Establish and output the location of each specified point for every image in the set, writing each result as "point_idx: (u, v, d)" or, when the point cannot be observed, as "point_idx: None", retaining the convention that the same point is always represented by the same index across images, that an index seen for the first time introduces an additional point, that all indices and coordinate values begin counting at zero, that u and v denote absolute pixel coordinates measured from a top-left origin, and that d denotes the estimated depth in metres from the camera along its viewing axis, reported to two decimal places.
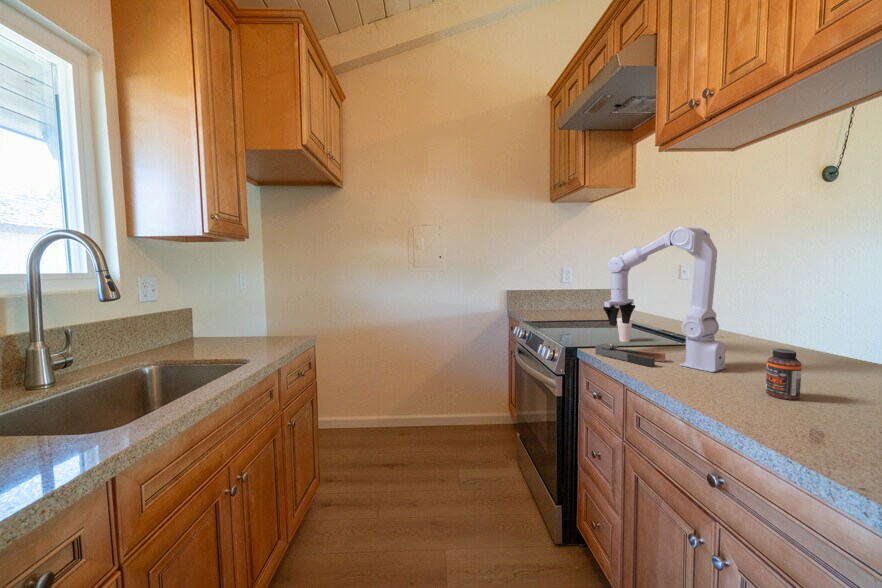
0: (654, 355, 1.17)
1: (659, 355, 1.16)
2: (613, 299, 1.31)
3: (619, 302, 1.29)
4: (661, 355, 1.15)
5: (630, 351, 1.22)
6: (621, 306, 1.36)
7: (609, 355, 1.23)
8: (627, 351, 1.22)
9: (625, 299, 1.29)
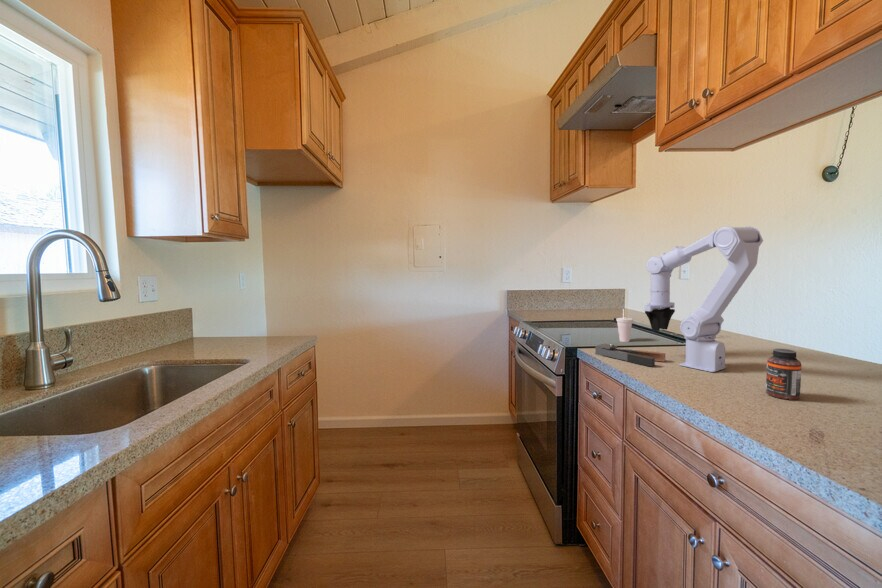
0: (654, 355, 1.17)
1: (659, 355, 1.16)
2: (653, 302, 1.21)
3: (661, 306, 1.18)
4: (661, 355, 1.15)
5: (630, 351, 1.22)
6: (658, 310, 1.24)
7: (609, 355, 1.23)
8: (627, 351, 1.22)
9: (667, 302, 1.19)
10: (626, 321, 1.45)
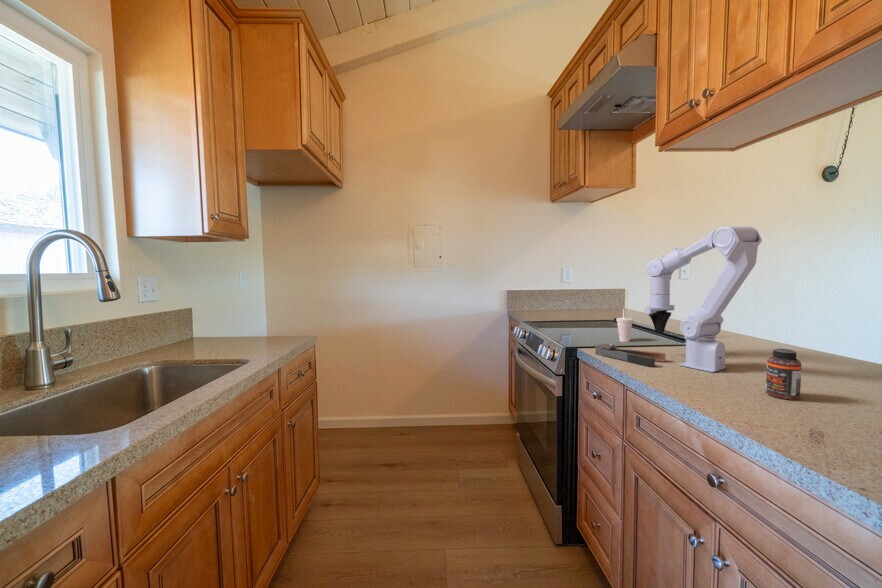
0: (654, 355, 1.17)
1: (659, 355, 1.16)
2: (653, 305, 1.21)
3: (661, 308, 1.19)
4: (661, 355, 1.15)
5: (630, 351, 1.22)
6: None
7: (609, 355, 1.23)
8: (627, 351, 1.22)
9: (667, 305, 1.19)
10: (626, 321, 1.45)
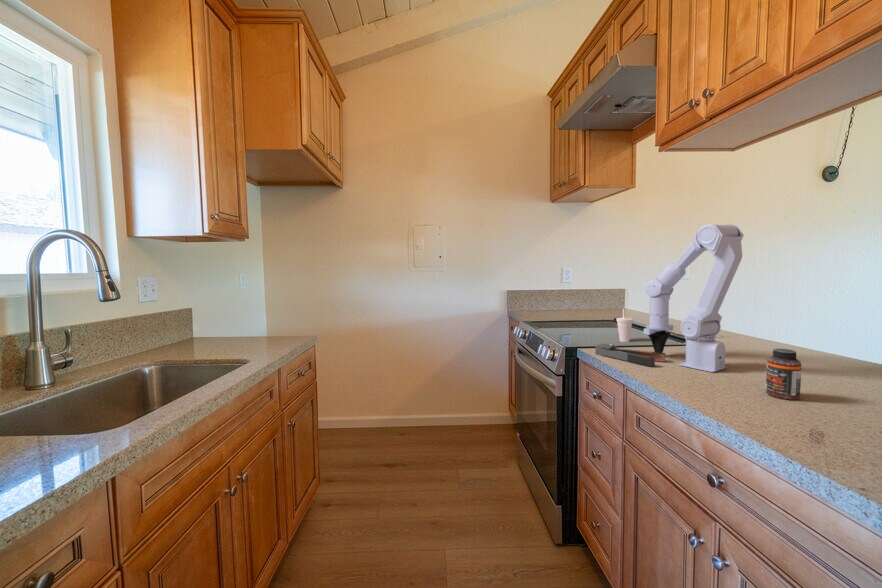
0: (654, 355, 1.17)
1: (659, 355, 1.16)
2: (652, 325, 1.21)
3: (660, 329, 1.19)
4: (661, 355, 1.15)
5: (630, 351, 1.22)
6: None
7: (609, 355, 1.23)
8: (627, 351, 1.22)
9: (666, 326, 1.19)
10: (626, 321, 1.45)
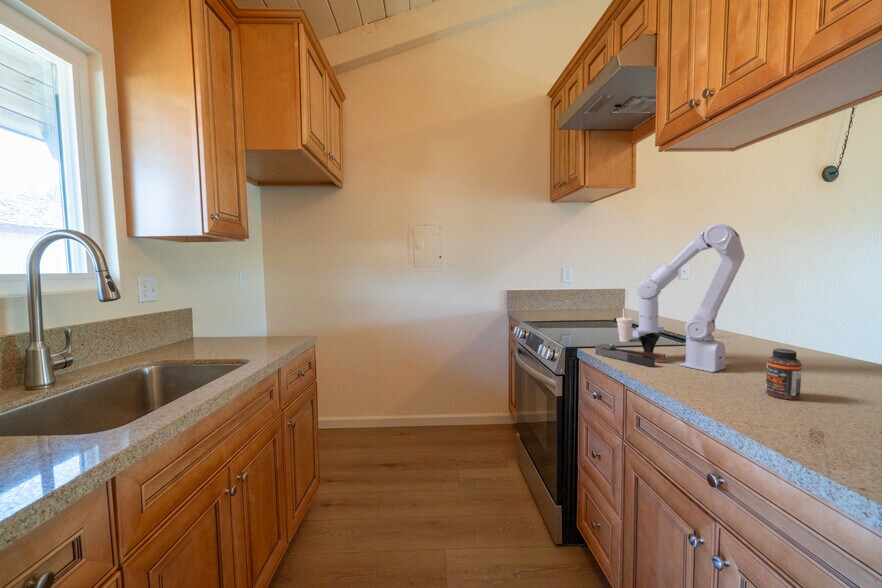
0: (653, 356, 1.16)
1: (658, 356, 1.15)
2: (642, 327, 1.18)
3: (649, 331, 1.16)
4: (660, 356, 1.15)
5: (629, 351, 1.21)
6: None
7: (609, 355, 1.23)
8: (627, 351, 1.22)
9: (655, 328, 1.16)
10: (626, 321, 1.45)
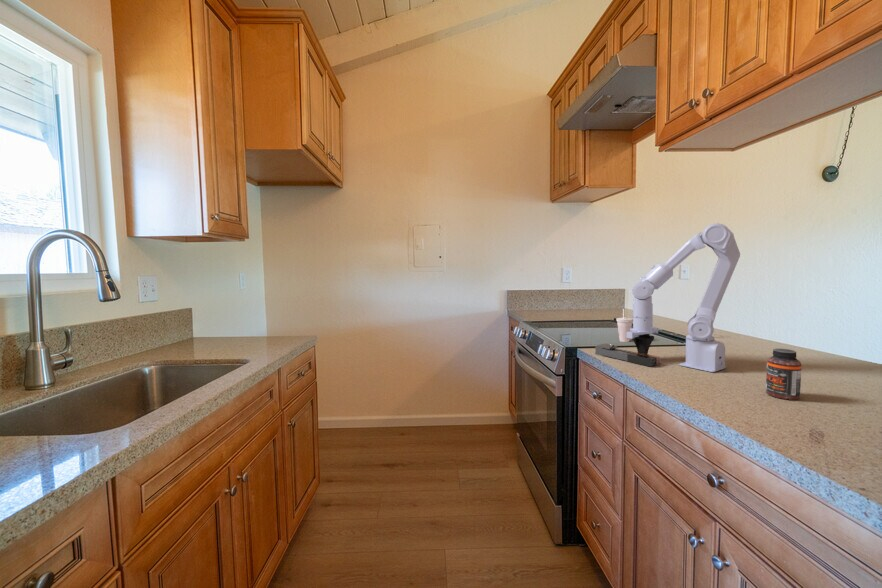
0: None
1: None
2: (636, 329, 1.17)
3: (643, 332, 1.14)
4: None
5: (627, 352, 1.20)
6: None
7: (609, 355, 1.23)
8: None
9: (650, 329, 1.15)
10: (626, 321, 1.45)
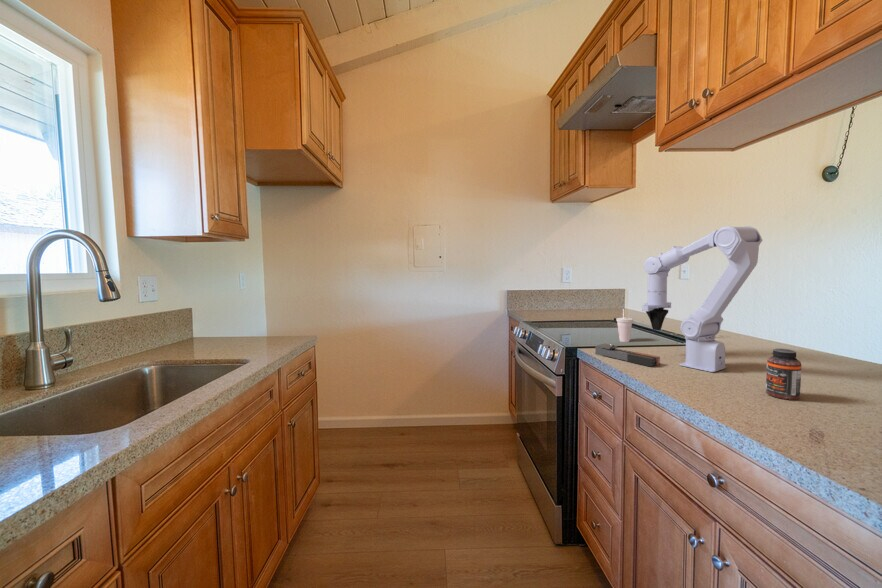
0: None
1: None
2: (651, 302, 1.21)
3: (658, 306, 1.19)
4: None
5: (627, 352, 1.20)
6: None
7: (609, 355, 1.23)
8: None
9: (664, 302, 1.19)
10: (626, 321, 1.45)
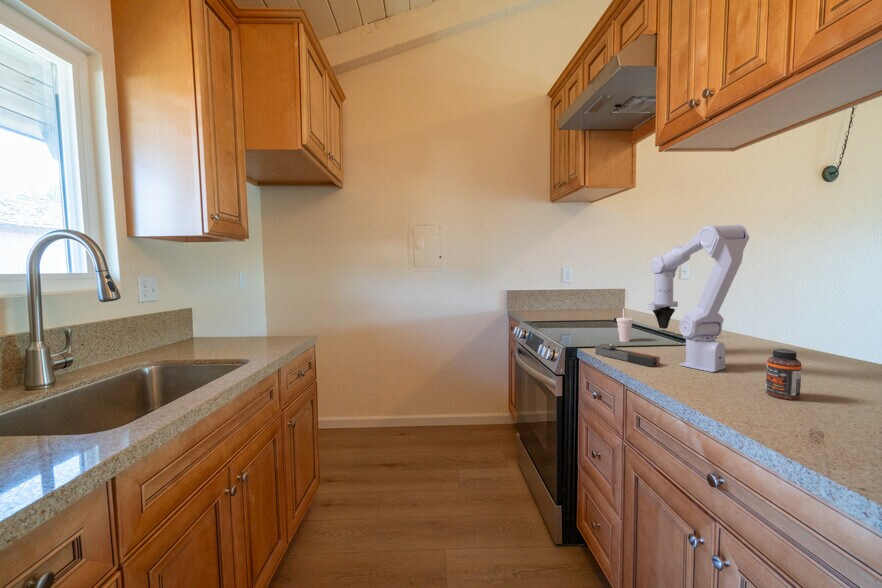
0: None
1: None
2: (657, 301, 1.23)
3: (664, 305, 1.21)
4: None
5: (627, 352, 1.20)
6: None
7: (609, 355, 1.23)
8: None
9: (671, 301, 1.22)
10: (626, 321, 1.45)
